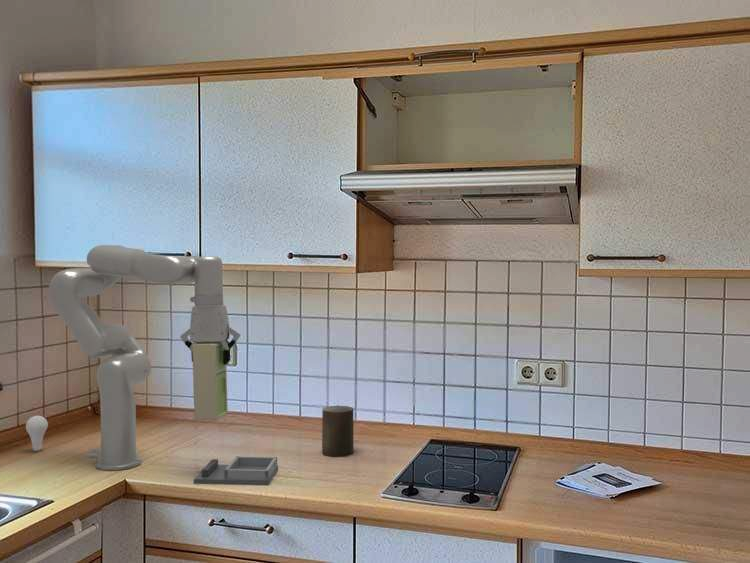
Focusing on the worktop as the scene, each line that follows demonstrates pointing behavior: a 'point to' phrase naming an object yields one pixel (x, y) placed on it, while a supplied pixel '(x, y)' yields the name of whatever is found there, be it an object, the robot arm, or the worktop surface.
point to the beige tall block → (209, 381)
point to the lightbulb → (36, 430)
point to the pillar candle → (337, 431)
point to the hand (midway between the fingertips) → (211, 363)
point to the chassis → (239, 471)
